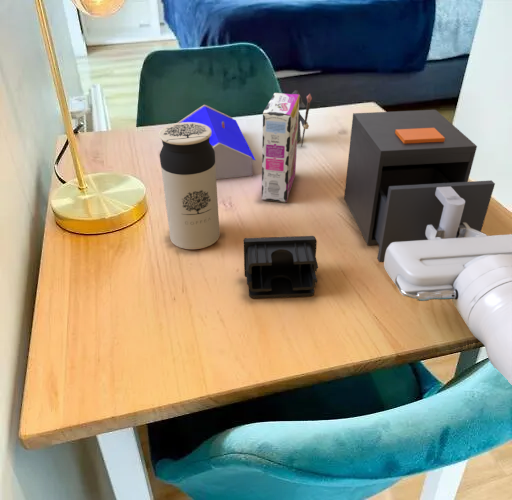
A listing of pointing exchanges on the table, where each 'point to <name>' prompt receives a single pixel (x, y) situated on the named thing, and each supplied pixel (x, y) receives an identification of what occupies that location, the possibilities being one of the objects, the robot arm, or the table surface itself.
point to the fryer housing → (400, 155)
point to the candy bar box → (279, 146)
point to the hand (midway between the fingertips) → (445, 227)
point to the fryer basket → (426, 205)
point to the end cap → (280, 266)
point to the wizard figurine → (300, 118)
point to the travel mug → (190, 184)
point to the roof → (225, 142)
